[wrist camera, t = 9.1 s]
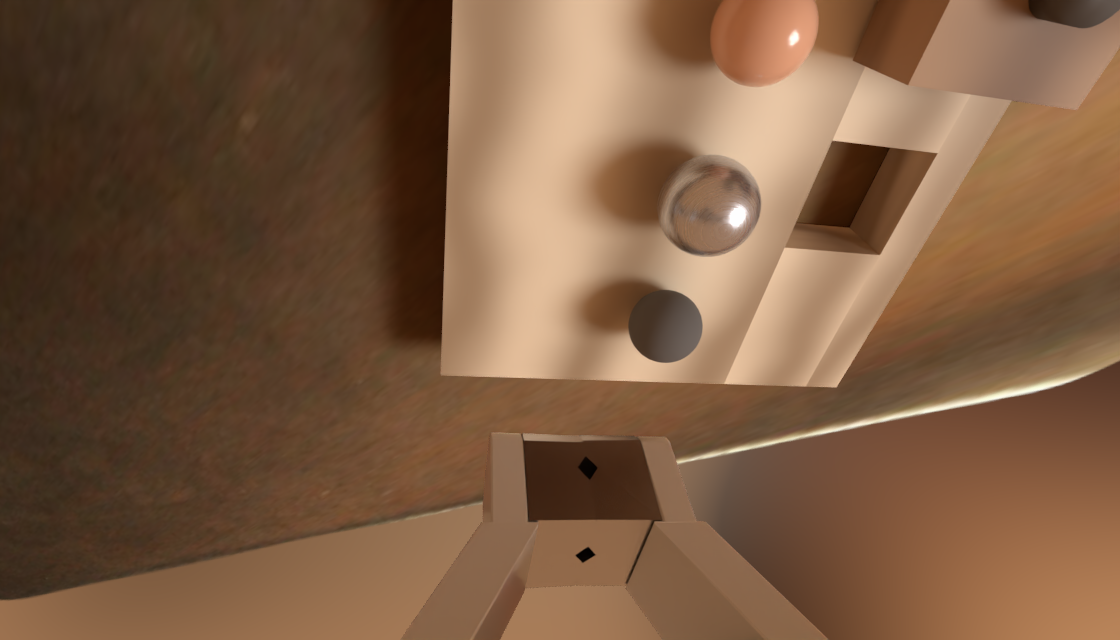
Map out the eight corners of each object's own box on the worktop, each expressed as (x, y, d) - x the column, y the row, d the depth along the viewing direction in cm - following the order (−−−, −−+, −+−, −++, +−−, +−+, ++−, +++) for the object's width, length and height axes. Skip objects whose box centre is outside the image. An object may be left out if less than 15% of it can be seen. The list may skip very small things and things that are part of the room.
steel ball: (637, 224, 22) (660, 272, 19) (660, 134, 19) (690, 174, 17) (721, 231, 22) (755, 279, 19) (752, 145, 20) (796, 185, 17)
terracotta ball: (685, 67, 18) (716, 93, 16) (713, -42, 16) (754, -31, 14) (769, 78, 19) (811, 105, 16) (805, -25, 17) (858, -12, 15)
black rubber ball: (615, 330, 25) (629, 377, 22) (630, 273, 23) (648, 317, 21) (678, 333, 25) (699, 379, 23) (698, 277, 23) (723, 321, 21)
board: (443, 340, 27) (440, 375, 25) (462, -225, 15) (460, -242, 13) (813, 355, 31) (836, 387, 29) (1059, -90, 19) (1126, -88, 17)
